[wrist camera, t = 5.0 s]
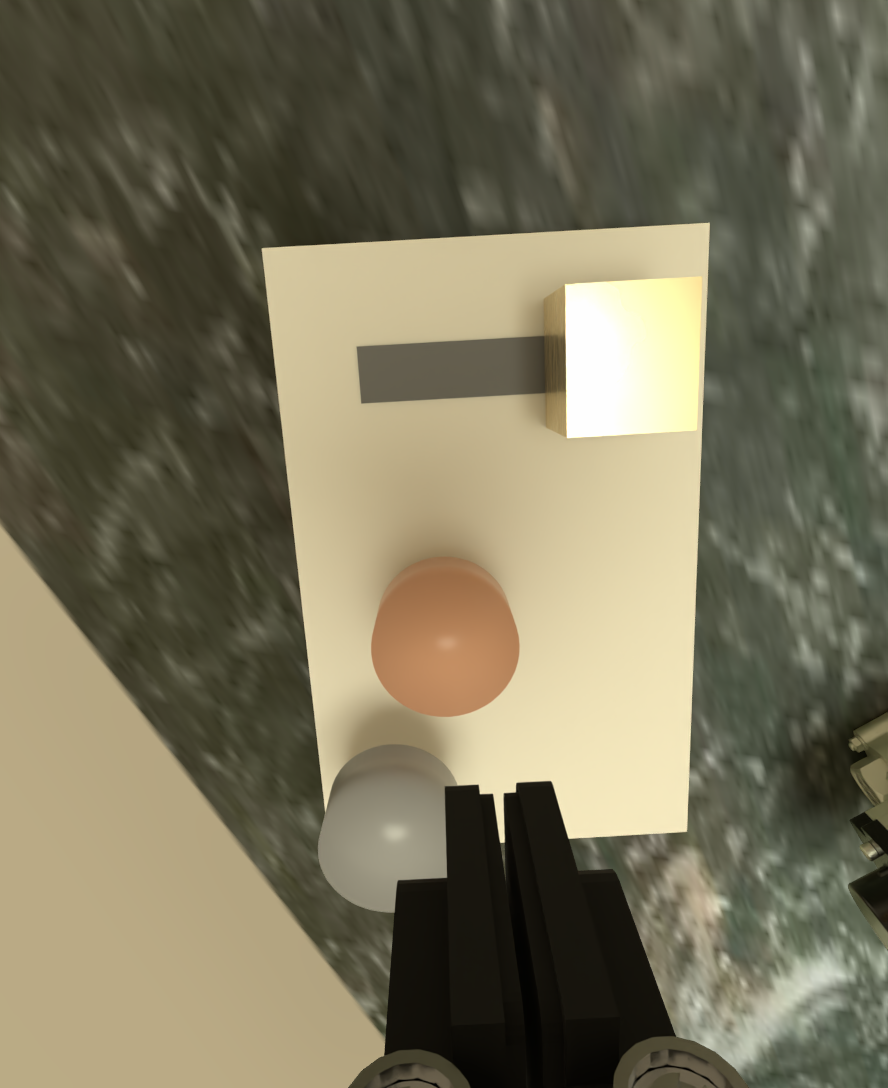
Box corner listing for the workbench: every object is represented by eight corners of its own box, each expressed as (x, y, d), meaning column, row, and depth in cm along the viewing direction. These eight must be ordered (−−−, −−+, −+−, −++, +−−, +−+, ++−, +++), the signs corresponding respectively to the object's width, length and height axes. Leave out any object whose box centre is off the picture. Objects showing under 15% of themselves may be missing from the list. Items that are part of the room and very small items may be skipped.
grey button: (455, 719, 24) (460, 782, 20) (462, 828, 25) (466, 908, 21) (329, 726, 24) (310, 791, 20) (341, 835, 25) (325, 916, 21)
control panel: (676, 240, 24) (711, 221, 21) (661, 786, 29) (687, 833, 26) (282, 263, 24) (260, 247, 21) (340, 805, 29) (329, 854, 26)
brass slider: (658, 292, 21) (702, 276, 18) (655, 421, 22) (697, 430, 19) (543, 298, 21) (565, 284, 18) (546, 427, 22) (567, 437, 19)
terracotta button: (504, 541, 23) (517, 574, 20) (507, 661, 24) (521, 712, 21) (375, 549, 23) (364, 582, 20) (385, 668, 24) (377, 721, 21)
